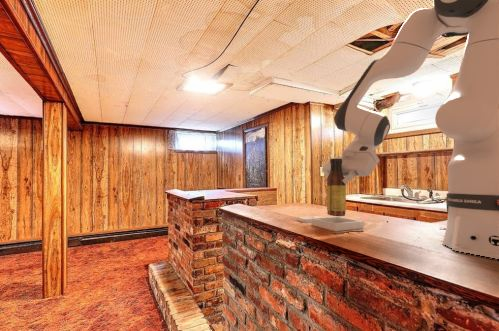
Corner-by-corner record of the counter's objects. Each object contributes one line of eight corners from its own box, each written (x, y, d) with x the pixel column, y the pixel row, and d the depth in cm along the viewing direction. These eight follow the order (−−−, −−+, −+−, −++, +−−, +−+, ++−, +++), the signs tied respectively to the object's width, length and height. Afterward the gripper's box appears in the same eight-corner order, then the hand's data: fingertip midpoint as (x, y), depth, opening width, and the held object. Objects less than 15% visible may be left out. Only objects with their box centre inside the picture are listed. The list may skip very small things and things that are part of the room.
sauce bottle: (349, 216, 87) (351, 159, 87) (338, 217, 83) (339, 158, 84) (333, 213, 92) (335, 159, 93) (322, 214, 89) (324, 158, 89)
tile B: (315, 221, 96) (315, 218, 96) (303, 222, 95) (303, 219, 95) (308, 219, 101) (308, 216, 101) (297, 220, 99) (297, 217, 99)
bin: (363, 231, 85) (363, 221, 85) (335, 234, 79) (335, 223, 79) (337, 225, 95) (337, 216, 95) (311, 228, 90) (311, 218, 90)
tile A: (327, 220, 99) (327, 217, 99) (318, 221, 97) (318, 218, 97) (318, 218, 104) (318, 215, 104) (309, 219, 101) (309, 216, 101)
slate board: (331, 224, 98) (331, 221, 98) (306, 226, 93) (306, 223, 93) (314, 220, 107) (314, 217, 107) (290, 222, 102) (290, 219, 102)
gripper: (330, 151, 101) (310, 175, 97) (375, 146, 83) (353, 175, 78) (338, 163, 103) (319, 187, 98) (384, 160, 84) (363, 190, 80)
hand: (335, 182), depth 88 cm, fingers closed on sauce bottle, 6 cm apart
